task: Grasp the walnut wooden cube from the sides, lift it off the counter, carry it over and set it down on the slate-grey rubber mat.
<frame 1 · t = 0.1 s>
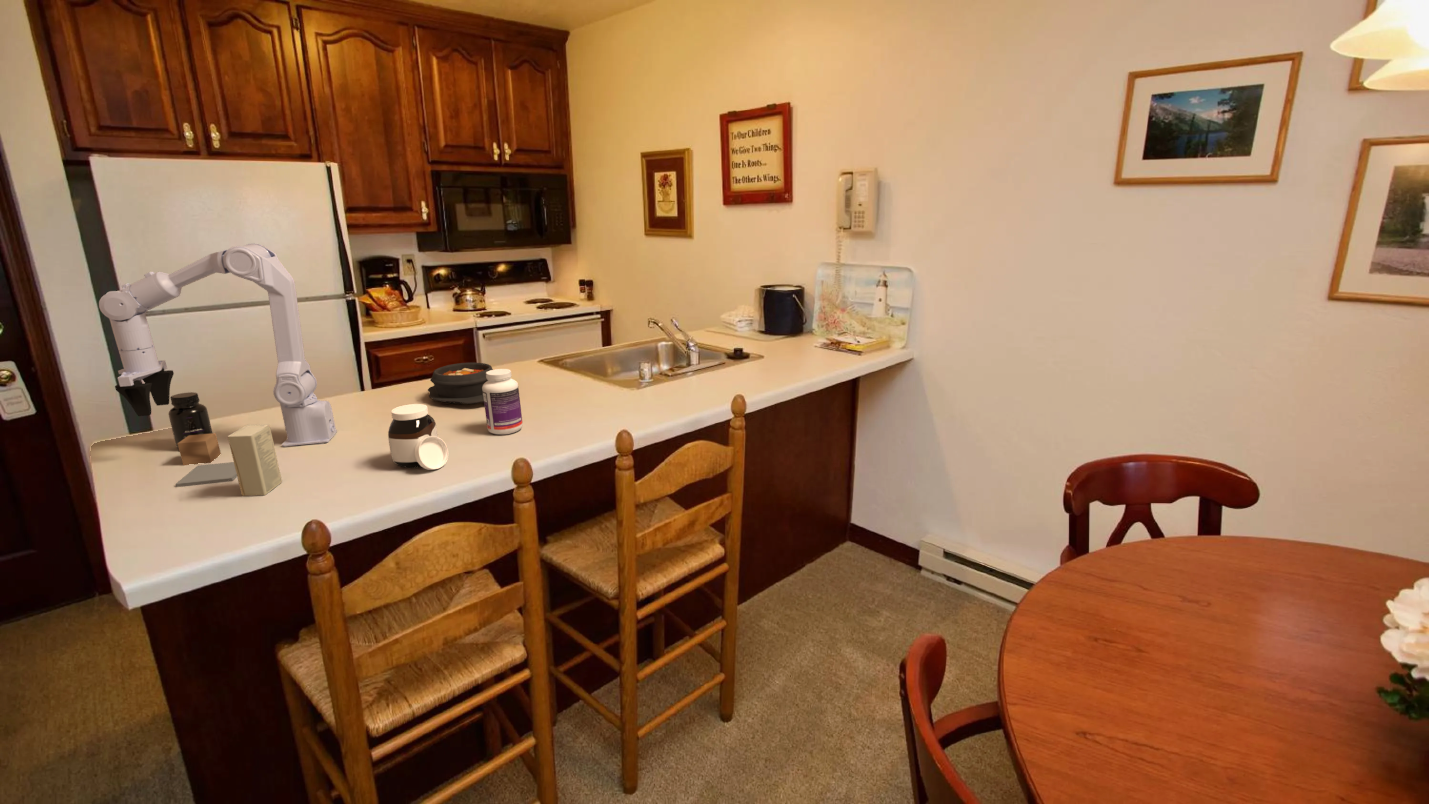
hand: (154, 410, 141), 10 cm above the table, tool pointing down, fingers open, 7 cm apart
walnut cube: (202, 460, 141), on the table
skincare box: (263, 490, 126), on the table
pill bottle: (505, 431, 156), on the table
casserole: (466, 398, 182), on the table
spread jar: (424, 464, 138), on the table
supplement bottle: (196, 446, 149), on the table
slate mat: (215, 474, 133), on the table
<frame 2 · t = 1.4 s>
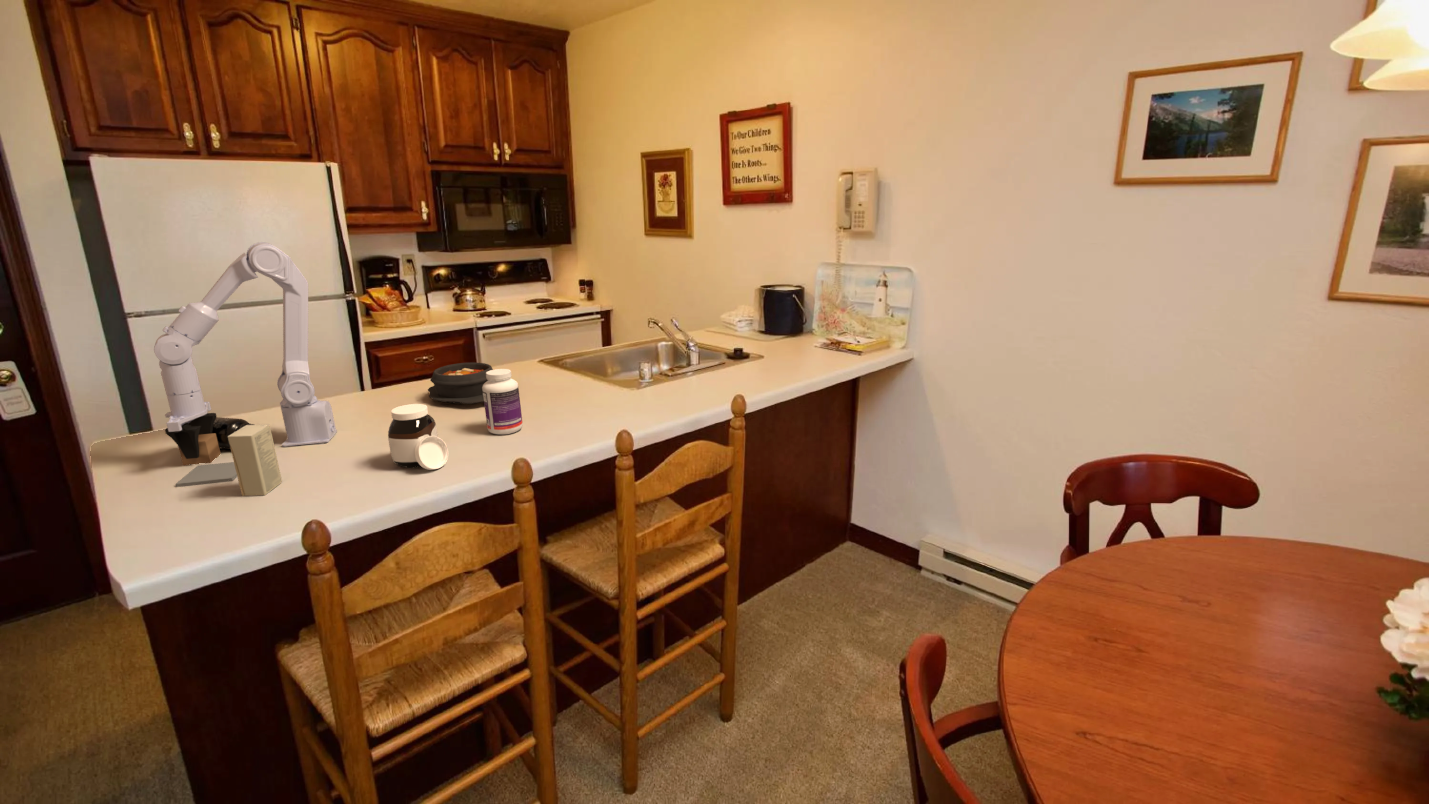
hand: (199, 452, 140), 2 cm above the table, tool pointing down, fingers open, 5 cm apart
supplement bottle: (206, 431, 147), point 3 cm above the table, touching gripper
everything else where it was.
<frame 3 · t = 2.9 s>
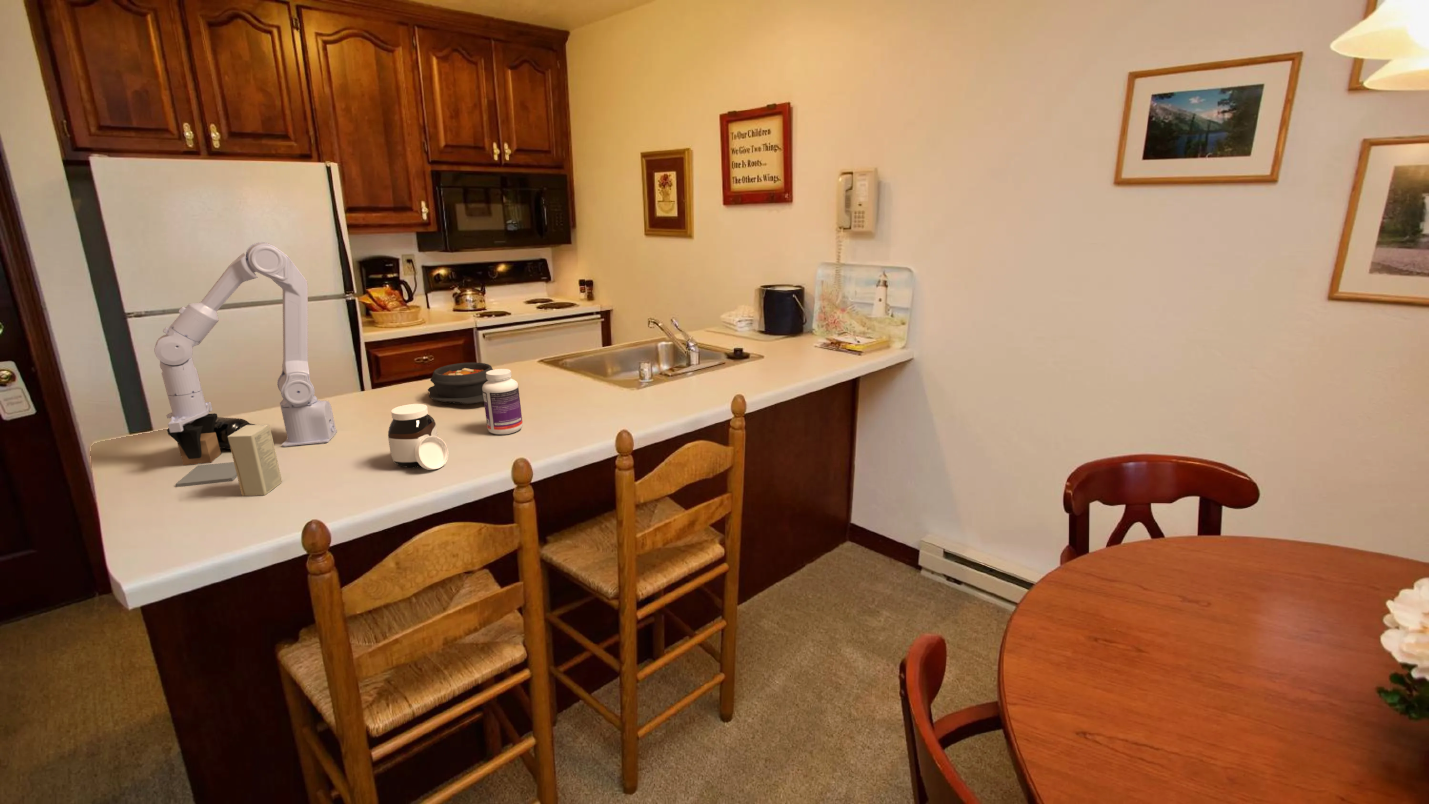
hand: (201, 453, 140), 1 cm above the table, tool pointing down, fingers closed on walnut cube, 5 cm apart
walnut cube: (202, 459, 141), on the table, touching gripper
everything else where it was.
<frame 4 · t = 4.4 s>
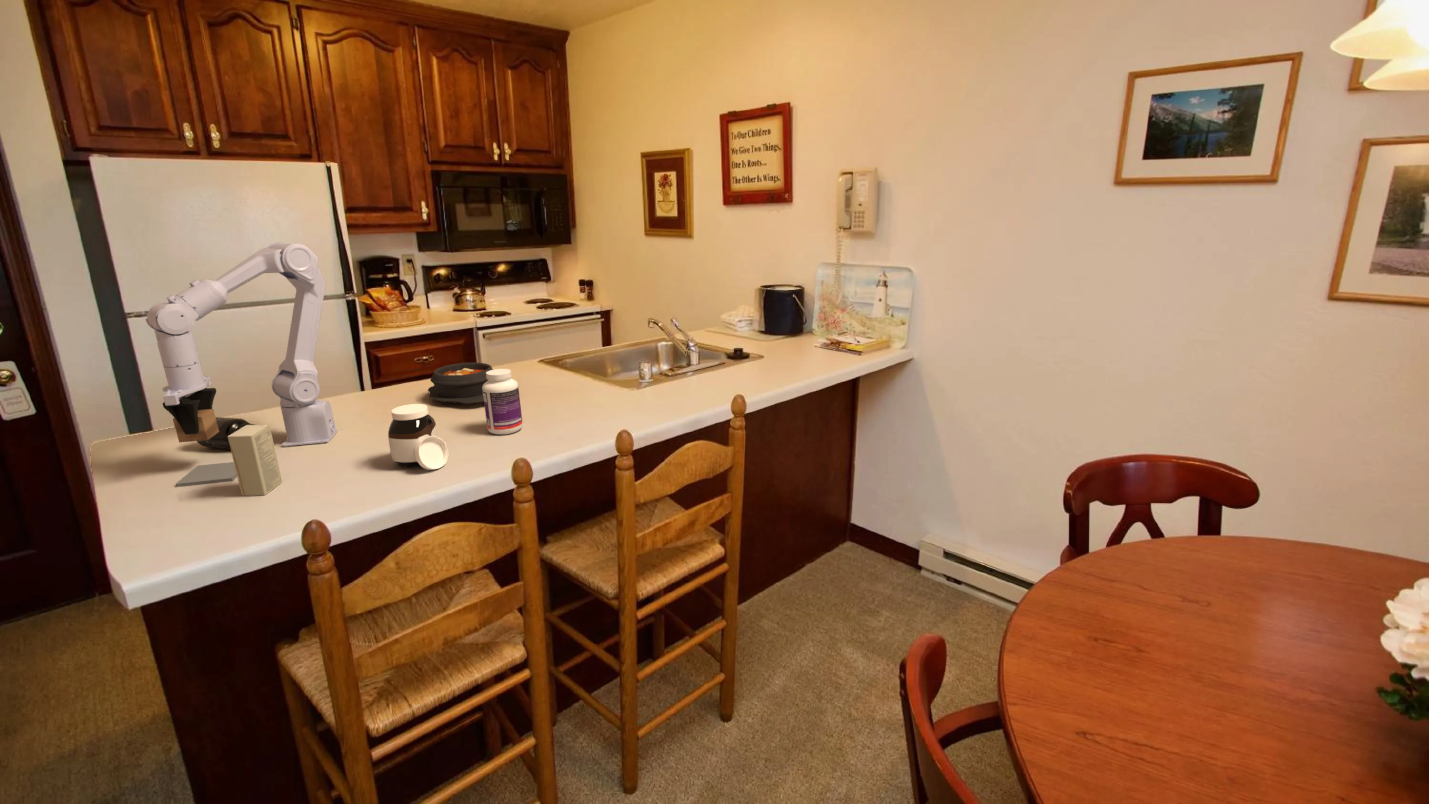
hand: (198, 428, 134), 8 cm above the table, tool pointing down, fingers closed on walnut cube, 5 cm apart
walnut cube: (199, 437, 135), point 7 cm above the table, touching gripper
supplement bottle: (206, 431, 147), point 3 cm above the table
everything else where it was.
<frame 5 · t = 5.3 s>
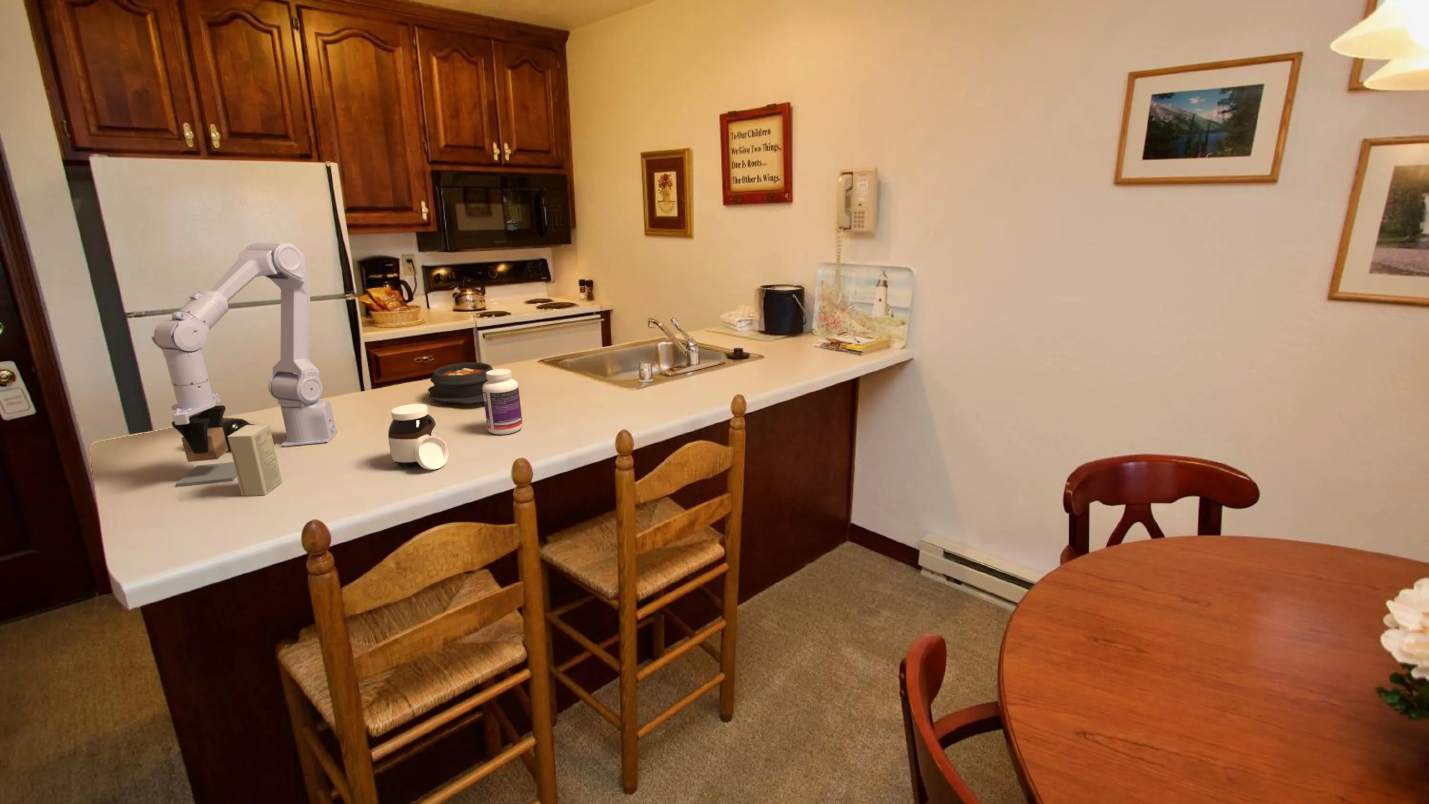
hand: (207, 447, 131), 6 cm above the table, tool pointing down, fingers closed on walnut cube, 5 cm apart
walnut cube: (208, 455, 132), point 4 cm above the table, touching gripper
everything else where it was.
when the fingers open (3 cm above the table, at t = 6.3 s): walnut cube stays where it is, resting on slate mat.
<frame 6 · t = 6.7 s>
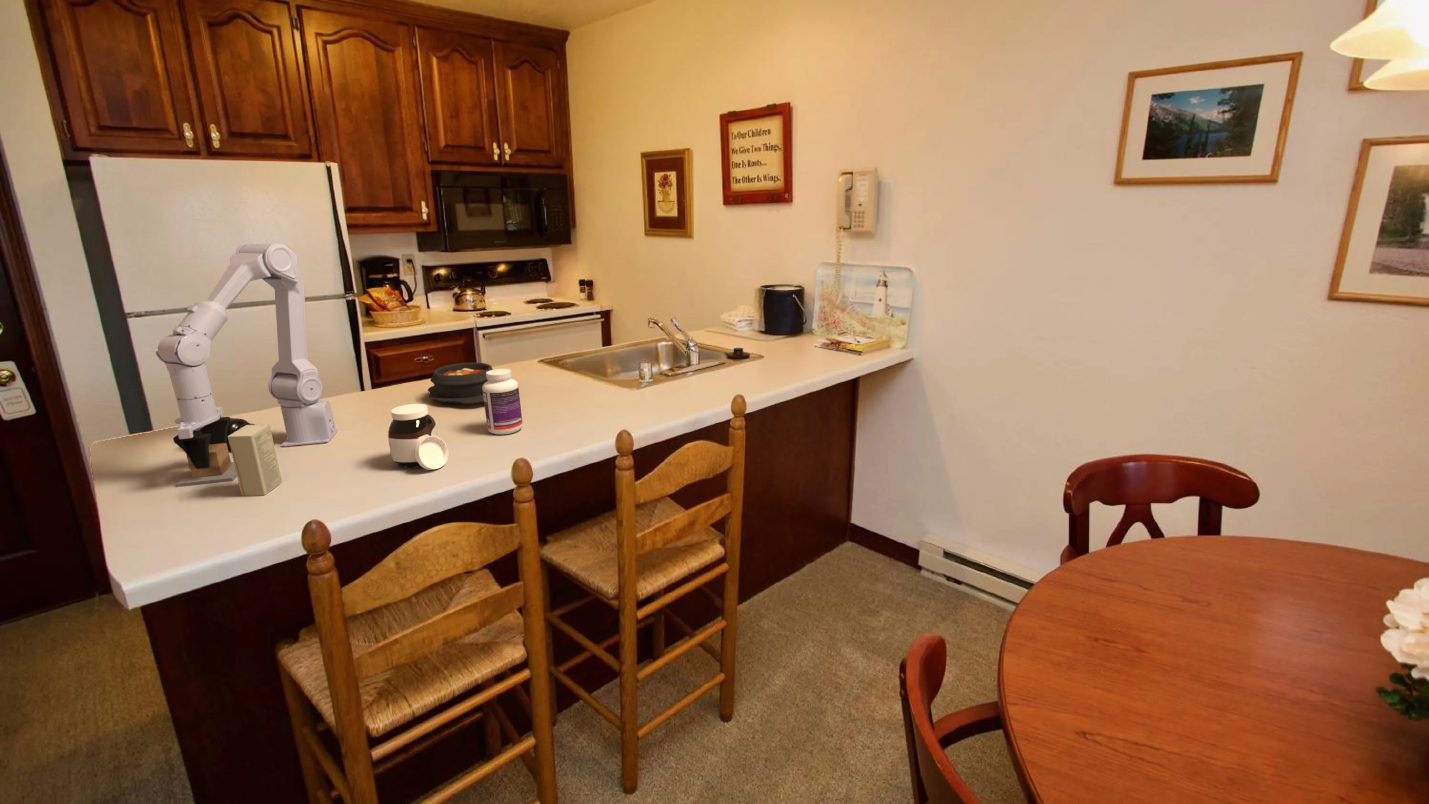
hand: (211, 460, 132), 3 cm above the table, tool pointing down, fingers open, 7 cm apart
walnut cube: (212, 471, 133), point 1 cm above the table, touching slate mat
everything else where it was.
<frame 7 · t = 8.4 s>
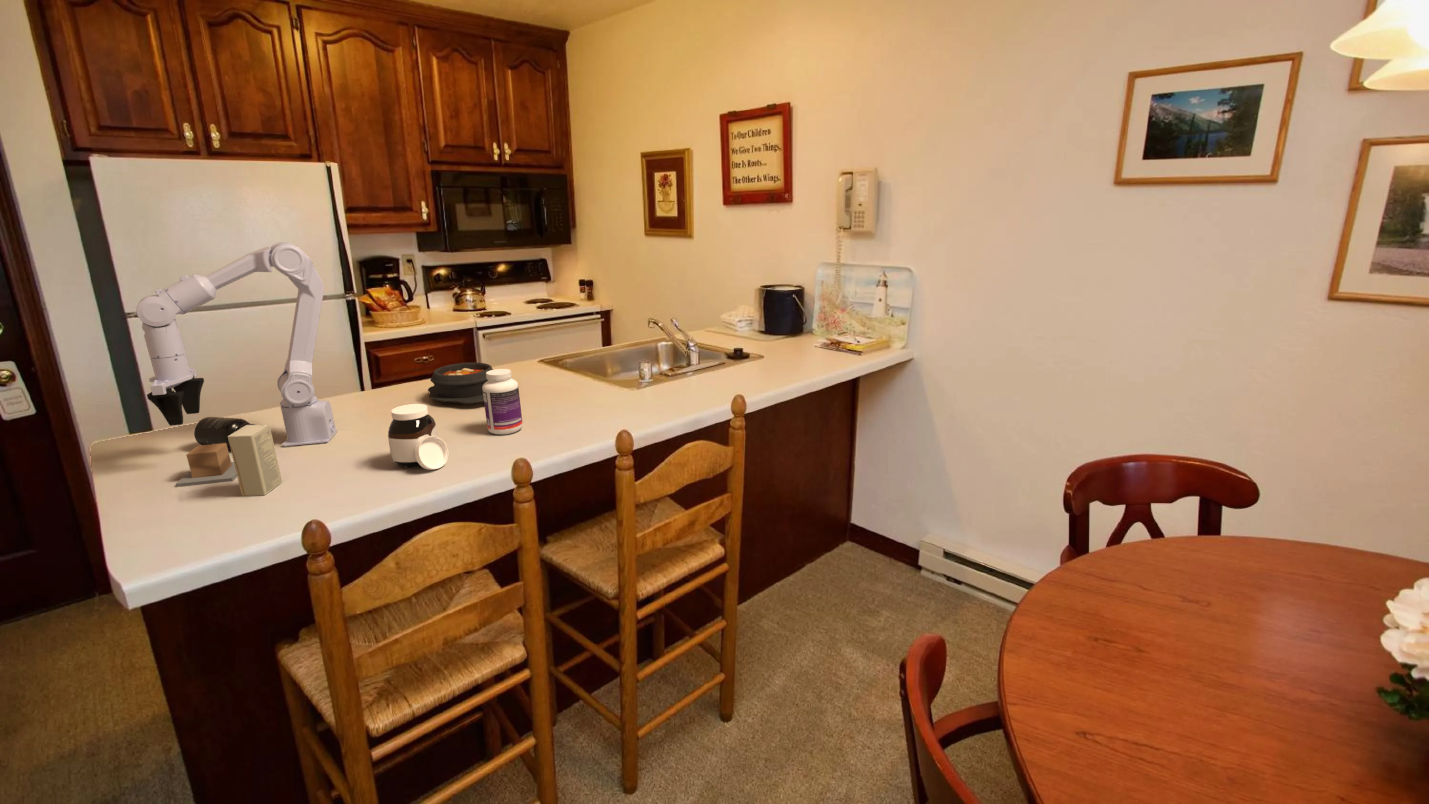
hand: (185, 418, 137), 9 cm above the table, tool pointing down, fingers open, 7 cm apart
nothing on the table moved.
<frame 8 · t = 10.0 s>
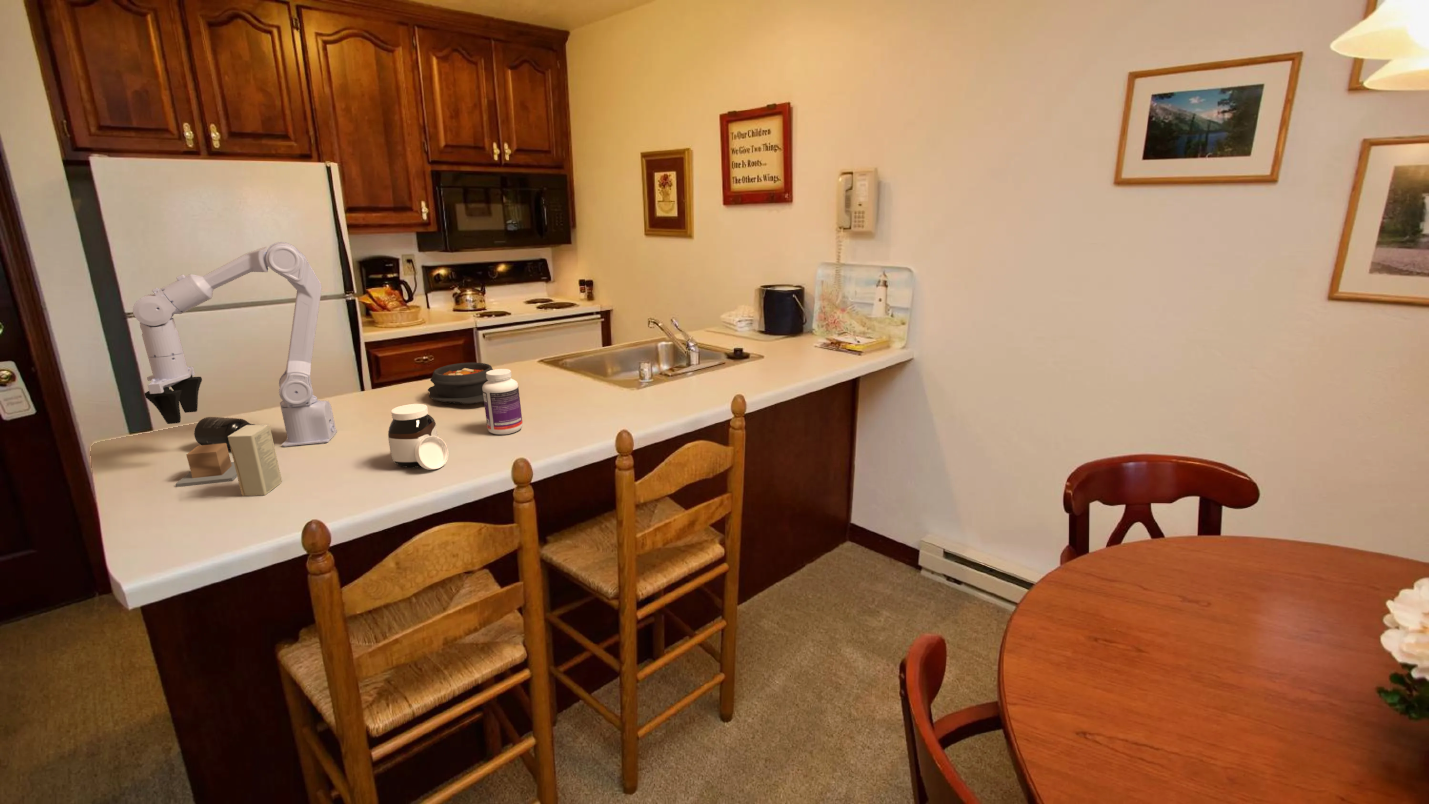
hand: (182, 417, 138), 9 cm above the table, tool pointing down, fingers open, 7 cm apart
nothing on the table moved.
at the end: walnut cube inside the target area on the slate mat (0.3 cm from its centre), point 0.6 cm above the slate mat's base; walnut cube tilted 0°; the gripper is holding nothing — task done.
